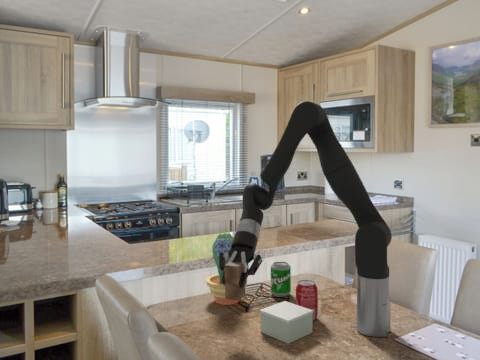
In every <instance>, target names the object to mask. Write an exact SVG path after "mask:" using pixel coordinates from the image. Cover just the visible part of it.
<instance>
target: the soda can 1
mask: <svg viewBox="0 0 480 360" xmlns="http://www.w3.org/2000/svg"><path fill="white" fill-rule="evenodd" d="M291 267H292V266H291V265H290V264H289V263H288V262H287V261H275V262H273V263H272V264H271V265H270V293H271V294H272V295H273V296H274V297H278V298H285V297H288V296H289V295H290V294H291V286H292V285H291V283H292V282H291V277H292V276H291V273H292V272H291V270H292V269H291ZM284 296H285V297H284Z"/></svg>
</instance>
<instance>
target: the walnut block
mask: <svg viewBox="0 0 480 360" xmlns="http://www.w3.org/2000/svg"><path fill="white" fill-rule="evenodd" d="M224 268H225V299H231V300H239V301H241V300H243V299H244V297H246V285H245V286H243V288H241V287H240V286H239V281H240V277H241V274H242V273H243V263H242V262H229V263H227V264H226V265H224Z"/></svg>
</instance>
